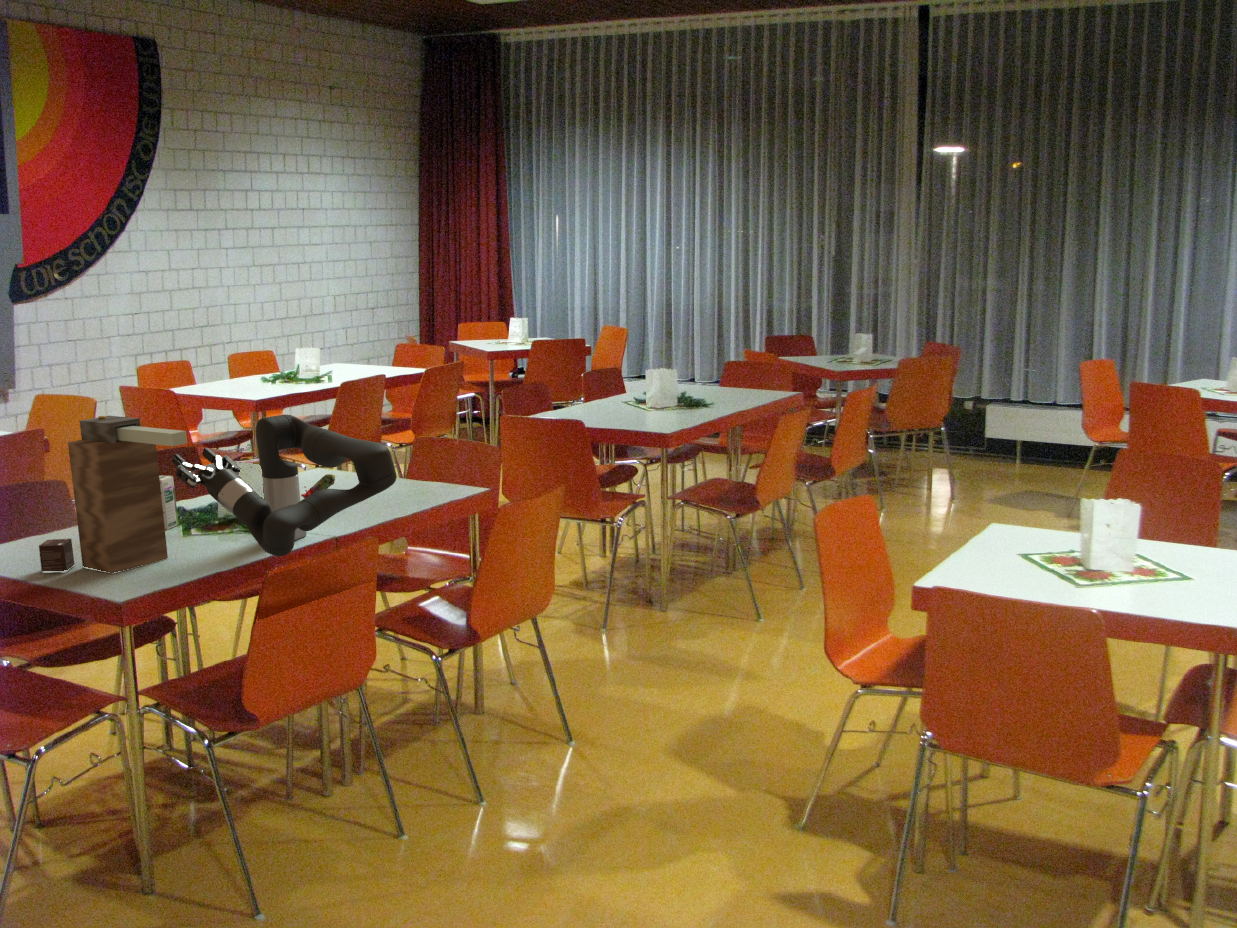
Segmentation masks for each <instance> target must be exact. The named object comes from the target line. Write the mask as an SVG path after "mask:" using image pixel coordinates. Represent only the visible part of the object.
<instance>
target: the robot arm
mask: <svg viewBox="0 0 1237 928" xmlns="http://www.w3.org/2000/svg"><path fill="white" fill-rule="evenodd" d="M255 440H256V446H257V447H256V448H257V454H258V459H259V462H260V466H261V469H262V475H263V486H264V498H265V500H264V499H263V498H262V497H260V496H259V495H258V494H257V493H256V492H255V491H254V490H253V488H252V487H251V486H250V485H249V484H247V483H246V482H245V481H244V480H243V479H242V478H241V477H240V476H238V475H239V472H240V469H241V468H240V467H239V466H238V465H237V464H236V463H235V462H236V461H234V460H233V459H232V458H231V457H230V456H229V455H226V454H225V455H223V456H221V455H218V454H216V453H215V452H214V451H213V450H211V449H210V448H208V447H204V448H203V450H202V454H201V455H202V456H203V457H204V458H205V459H206V460H207V461H208V462H209V464H207V465H205V464H204V465H200V464H198V463H194V464H191V463H188V462H187V461H186V460H185V459H184V458H183V457H182V456H181V455H180V454H179V453H175V454H173V455H172V461H171V463H172V464H173V465H174V466H175V467H176V471H175V474H174V475H175V476H176V477H177V478H178V479H179V480H181V482H183V483H184V484H185V485H187V486H188V487H189V488H191V489H194V488H195V487H196V485H199V484H200V485H202V486H204V487H205V488H206V491H207V493H208V494H209V495H210V496H211V498H213V499H214V500H215V501H216V502H217V503H219V504H220V505H221V507H222V508H224V509H225V510H227V511H228V512H229V513H231V514H232V515H233V516H235V517H236V518H237V519H238V520H239V521H240V522H241V523H242V524H243V525H245V526H246V527H247V528H248V531H249V532H250V534H251V536H252V537H253V538H254V540H255V541H256V542H257V543H258V545H259V546H260V548H261V549H262V550H263V551H265V552H266V553H267V554H269V555H271V556H275V557H285V556H287V555H289V554H290V553H291V552H292V551H293V549H294V546H295V541H297V540H299V539H302V538H305V537H306V536H307V532H311V531H312V530H314V529H316V528H317V527H319V526H320V525H322V524H323V523H325V522H326V521H328V520H329V519H330V518H332V517H333V516H336V515H337V514H338V513H340V512H342V511H344V510H346V509H348V508H351V507H353V506H354V505H357V504H359V503H361V502H364V501H366V500H367V499H370V498H372V497H374V496H375V495H376V496H377V495H379V494H380V493H382V492H384V491H386V490H387V489H389V488H391V487H392V486H393V485H394V484H395V483H396V482H397V476H398V475H397V472H396V468H395V463H394V461H393V457H392V453H391V451H390V449H389V447H388V446H387V445H385V444H383V443H380V442H377V441H371V440H365V439H358V438H354V437H350V436H348V435H344V434H340V433H338V432H337V431H333V430H330V429H327V428H324V427H319V426H316V425H312V424H310V423H308V422H306V421H304V420H302V419H300V418H299V417H296V416H295V415H291V414H278V415H272V416H266V417H265V416H264V417H262V418H260V419H258V421H257V422H256V426H255ZM290 449H301V451H302V454H303V455H304V457H305V458H306V459H307V460H308V461H310V462H311V463H313V464H315V465H318V466H321V467H324V468H329V469H331V468H336V467H339V466H341V465H342V464H344V463H345V462H346V461H348V460H350V461H351V462H352V464H353V467H354V470H355V474H356V476H357V480H358V483H357V484H356V485H355V486H353V487H352V488H347V489H339V488H338V489H337V488H328V489H322V490H318V491H316V492H314V493H312V494H311V495H309V496H308V497H306V498H303V499H301V493H300V491H301V490H300V478H299V467H298V464H297V463H296V462H294V461H287V460H284V459H282V458H281V456H280V452H279V451H284V450H290ZM188 469H190V470H191V471H190V470H188ZM197 470H198V471H197ZM196 471H197V472H198V473H197V475H196Z"/></svg>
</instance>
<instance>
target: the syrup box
mask: <svg viewBox="0 0 1237 928" xmlns="http://www.w3.org/2000/svg"><path fill="white" fill-rule="evenodd" d="M159 479H160V488H161V498H162V507H163V517H164V526H165V531H168V530H170V529H173V528H174V527H176V526H179V515H178V508H177V498H176V491H175V483H174V476H173V475H159Z"/></svg>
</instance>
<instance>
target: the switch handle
mask: <svg viewBox="0 0 1237 928" xmlns="http://www.w3.org/2000/svg"><path fill="white" fill-rule="evenodd" d="M115 435H116V440H120V441H129V442H138V443H147V444H156V446H157V445H158V446H167V447H177V446H182V445H187V444H188V439H187V431H186V430H177V429H170V428H169V429H167V428H158V427H148V426H141V427H140V426H130V425H123V426H117V427H115Z"/></svg>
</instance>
